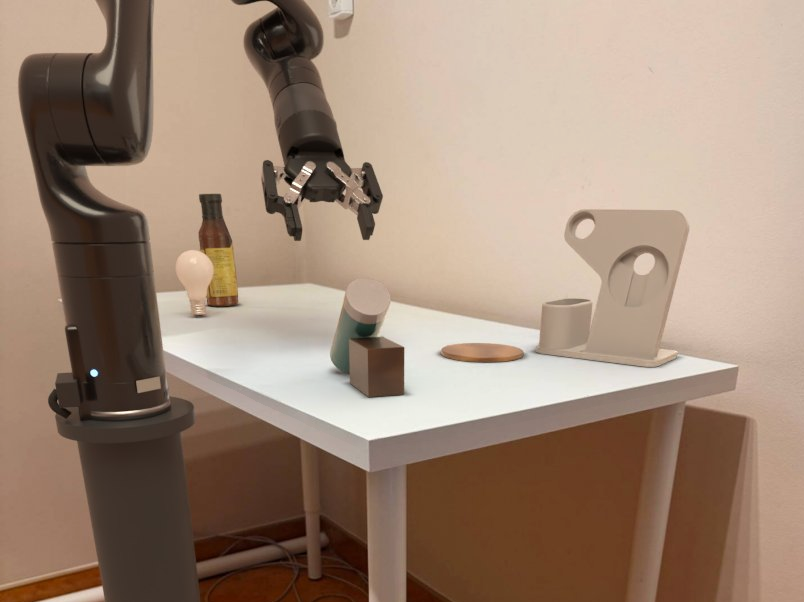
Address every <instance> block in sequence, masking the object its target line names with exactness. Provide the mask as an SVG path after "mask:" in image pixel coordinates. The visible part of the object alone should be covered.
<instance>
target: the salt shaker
mask: <svg viewBox="0 0 804 602" xmlns="http://www.w3.org/2000/svg"><path fill="white" fill-rule="evenodd" d="M391 301H392V300H391V295H390V292H389V291H388V289H387V288H386V286H384V284H382V283H381V282H380V281H378V280H375V279H373V278H369V277H368V278H367V277H360V278H357V279H354V280H352V281H351V282H350V283H349V284H348V285H347V287H346V289H345V293H344V297H343V303H342V306H341V309H340V313H339V317H338V321H337V325H336V327H335V331H334V336H333V339H332V343H331V348H330V351H329V357H330V361H331V363H332V364H333V366H334V367H335V368H336V369H338V370H339V371H341V372H343V373H346V374H350V364H349V338H366V337H380V336H379V335H380V333H381V330H382V327H383V324H384V322H385V318H386V316H387V314H388V312H389V309H390V306H391Z"/></svg>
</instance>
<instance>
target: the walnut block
mask: <svg viewBox="0 0 804 602" xmlns="http://www.w3.org/2000/svg"><path fill="white" fill-rule="evenodd" d="M349 364H350V373H349V384H350V385H352V387H354V388H356V389H357V390H358V391H359V392H361V393H362V394H364V395H365V396H366V397H368V398H376V397H378V398H379V397H390V396H404V395H405V346H403V345H401V344H399V343H397V342H395V341H393V340H390V339H388V338H387V337H385V336H378V337H366V338H349Z"/></svg>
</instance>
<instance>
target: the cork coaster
mask: <svg viewBox="0 0 804 602" xmlns="http://www.w3.org/2000/svg"><path fill="white" fill-rule="evenodd" d="M440 351H441V352H440V353H441V355H442V356H443V357H445V358H447V359H451V360H456V361H461V362H472V363H501V362H502V363H503V362H510V361H516V360H520V359H521V358H523V357H524V350H523V349H522V348H521V347H517V346H514V345H508V344H501V343H488V342H467V343H466V342H463V343H455V344H449V345H446V346H443V347H441V350H440Z"/></svg>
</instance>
